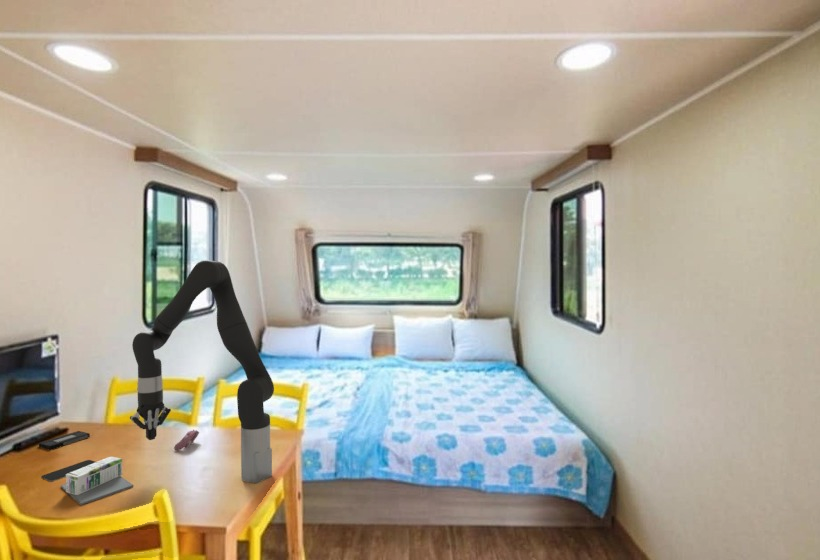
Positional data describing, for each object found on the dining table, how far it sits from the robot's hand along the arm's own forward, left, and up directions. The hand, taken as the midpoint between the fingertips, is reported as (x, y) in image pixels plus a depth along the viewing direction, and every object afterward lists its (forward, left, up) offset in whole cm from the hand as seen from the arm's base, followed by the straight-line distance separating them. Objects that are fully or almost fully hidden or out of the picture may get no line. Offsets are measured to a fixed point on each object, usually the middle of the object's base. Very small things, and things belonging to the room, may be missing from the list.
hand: (151, 439), depth 155 cm
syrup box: (+5, +9, -7) cm, 12 cm away
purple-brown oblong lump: (+11, -18, -11) cm, 24 cm away
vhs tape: (+54, +10, -11) cm, 56 cm away
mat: (+1, +16, -11) cm, 19 cm away
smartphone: (+22, +17, -11) cm, 30 cm away
